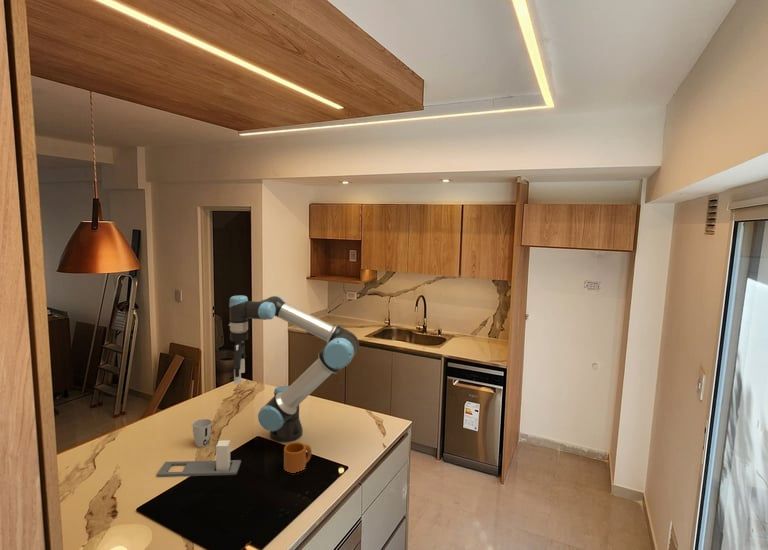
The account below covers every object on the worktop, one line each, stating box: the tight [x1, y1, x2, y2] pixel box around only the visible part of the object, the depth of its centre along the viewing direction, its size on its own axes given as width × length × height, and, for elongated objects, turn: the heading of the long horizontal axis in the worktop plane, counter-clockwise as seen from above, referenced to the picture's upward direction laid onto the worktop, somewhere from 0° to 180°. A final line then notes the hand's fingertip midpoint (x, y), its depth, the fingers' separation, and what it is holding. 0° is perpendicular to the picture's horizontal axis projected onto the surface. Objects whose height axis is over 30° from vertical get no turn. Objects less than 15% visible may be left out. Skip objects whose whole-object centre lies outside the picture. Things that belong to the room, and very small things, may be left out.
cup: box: [191, 418, 213, 448], centre depth 191 cm, size 8×8×10 cm
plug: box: [215, 439, 231, 471], centre depth 173 cm, size 5×4×11 cm
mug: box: [283, 441, 312, 473], centre depth 177 cm, size 9×12×9 cm
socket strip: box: [156, 459, 242, 478], centre depth 173 cm, size 30×9×1 cm, turn 97°
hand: (239, 377), depth 190 cm, fingers open, 13 cm apart
